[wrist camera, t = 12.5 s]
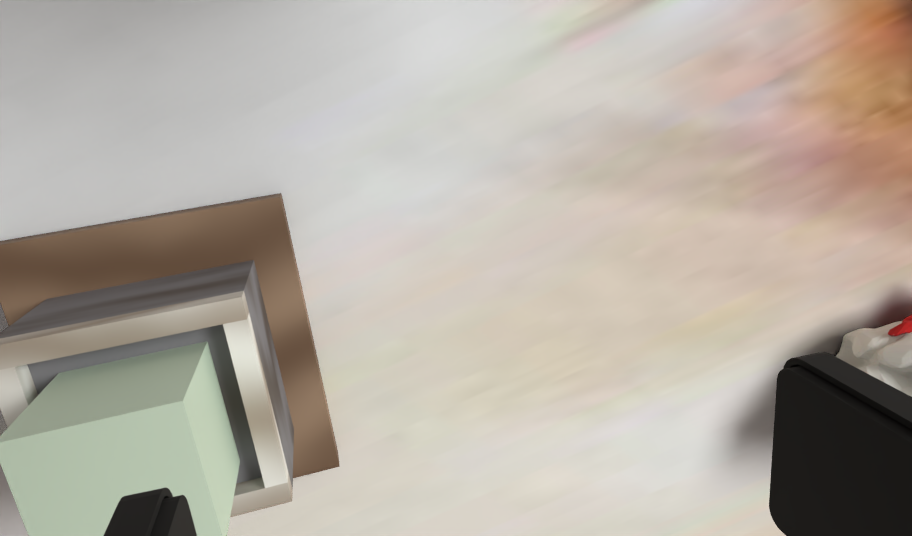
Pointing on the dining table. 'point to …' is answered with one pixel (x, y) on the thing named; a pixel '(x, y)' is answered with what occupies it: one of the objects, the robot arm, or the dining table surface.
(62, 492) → the sage block
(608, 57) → the dining table surface
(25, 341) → the pillar base
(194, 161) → the dining table surface
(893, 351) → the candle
